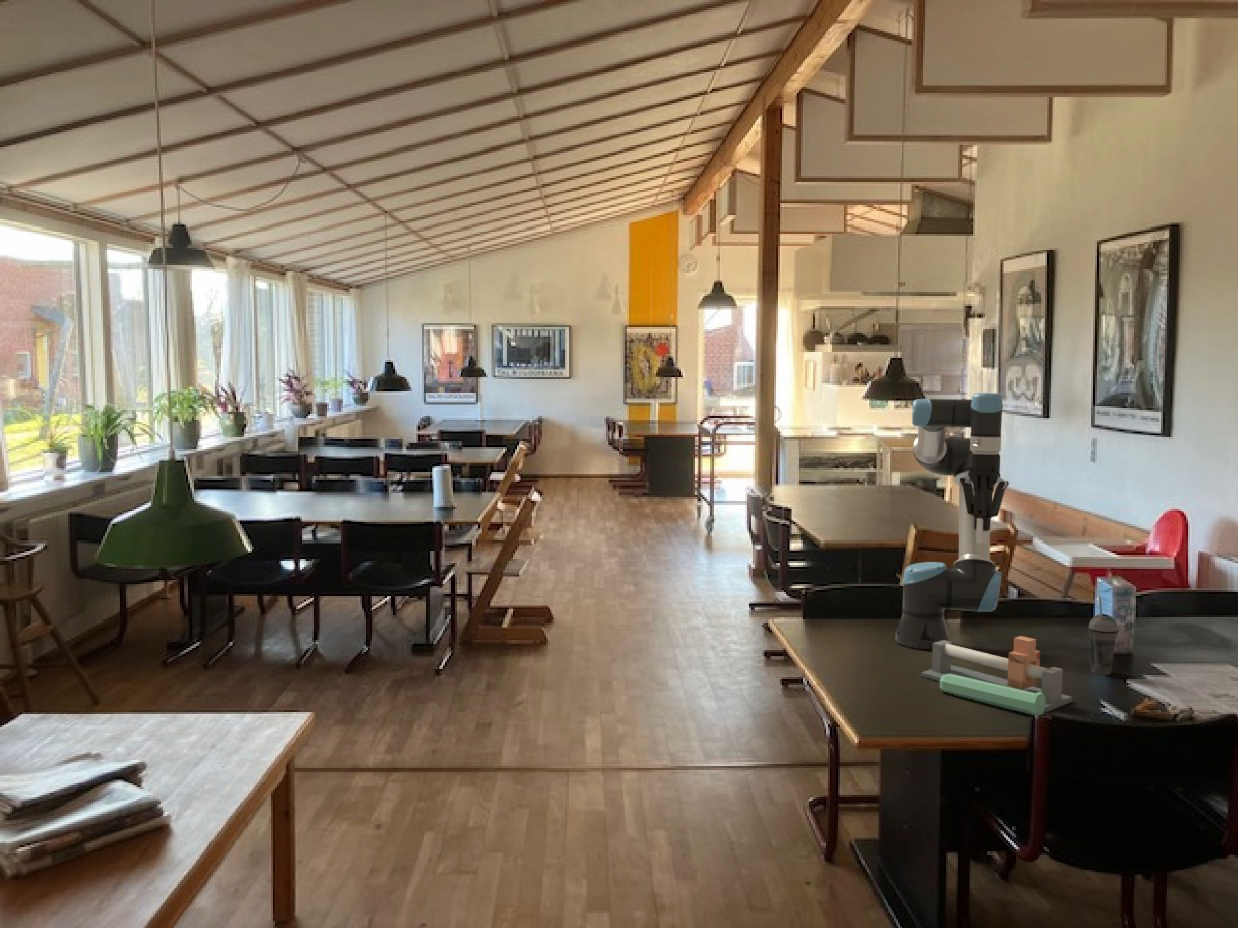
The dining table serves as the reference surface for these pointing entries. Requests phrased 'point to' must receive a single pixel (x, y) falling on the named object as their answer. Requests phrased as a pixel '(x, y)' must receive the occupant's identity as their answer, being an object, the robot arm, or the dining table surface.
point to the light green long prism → (993, 694)
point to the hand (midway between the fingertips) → (981, 542)
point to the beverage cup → (1102, 642)
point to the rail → (992, 680)
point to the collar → (1022, 663)
